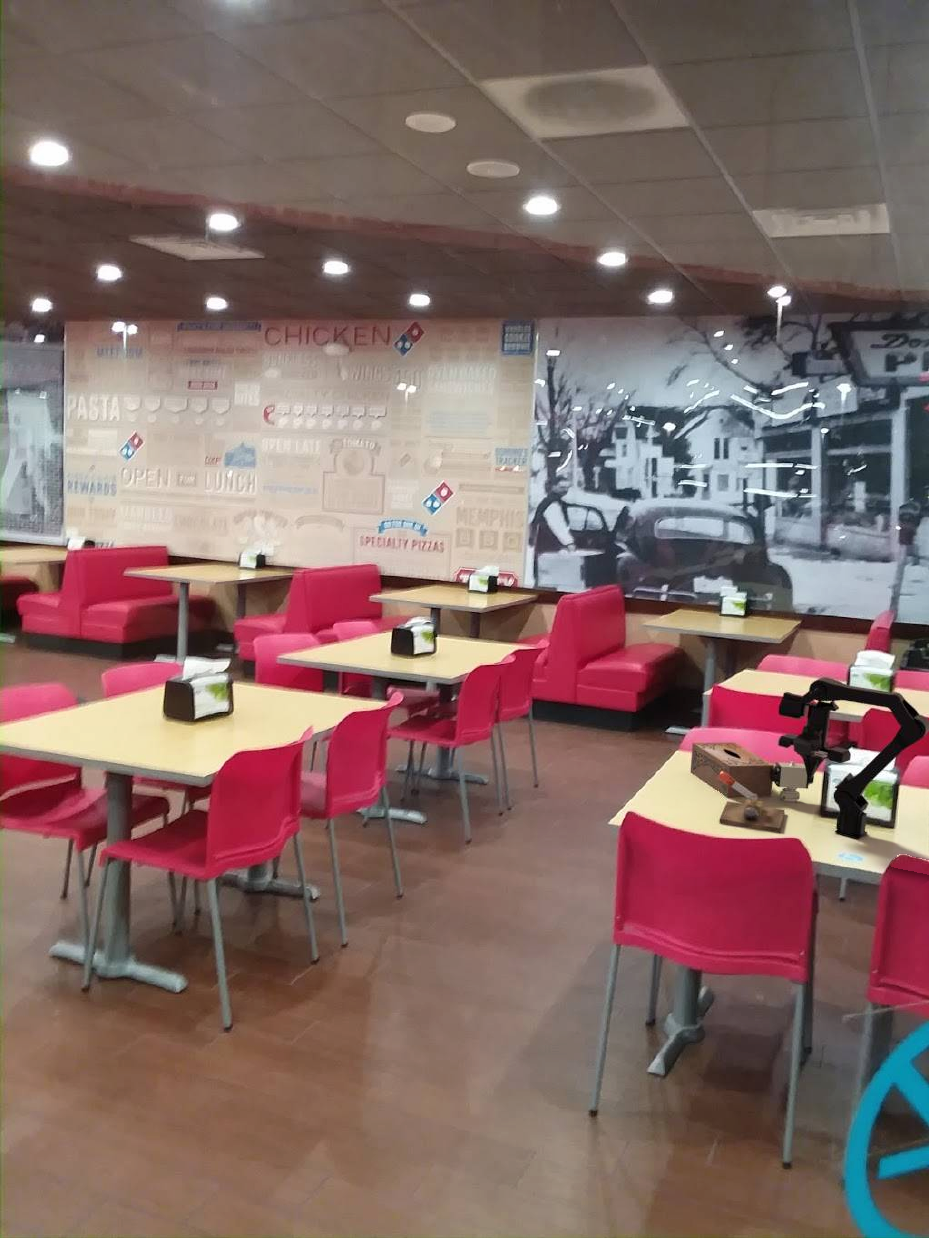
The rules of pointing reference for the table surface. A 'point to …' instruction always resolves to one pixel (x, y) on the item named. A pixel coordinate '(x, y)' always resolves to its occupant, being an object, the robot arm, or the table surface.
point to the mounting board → (767, 821)
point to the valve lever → (736, 785)
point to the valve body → (752, 809)
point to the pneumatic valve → (790, 779)
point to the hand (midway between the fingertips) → (809, 777)
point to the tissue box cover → (731, 768)
